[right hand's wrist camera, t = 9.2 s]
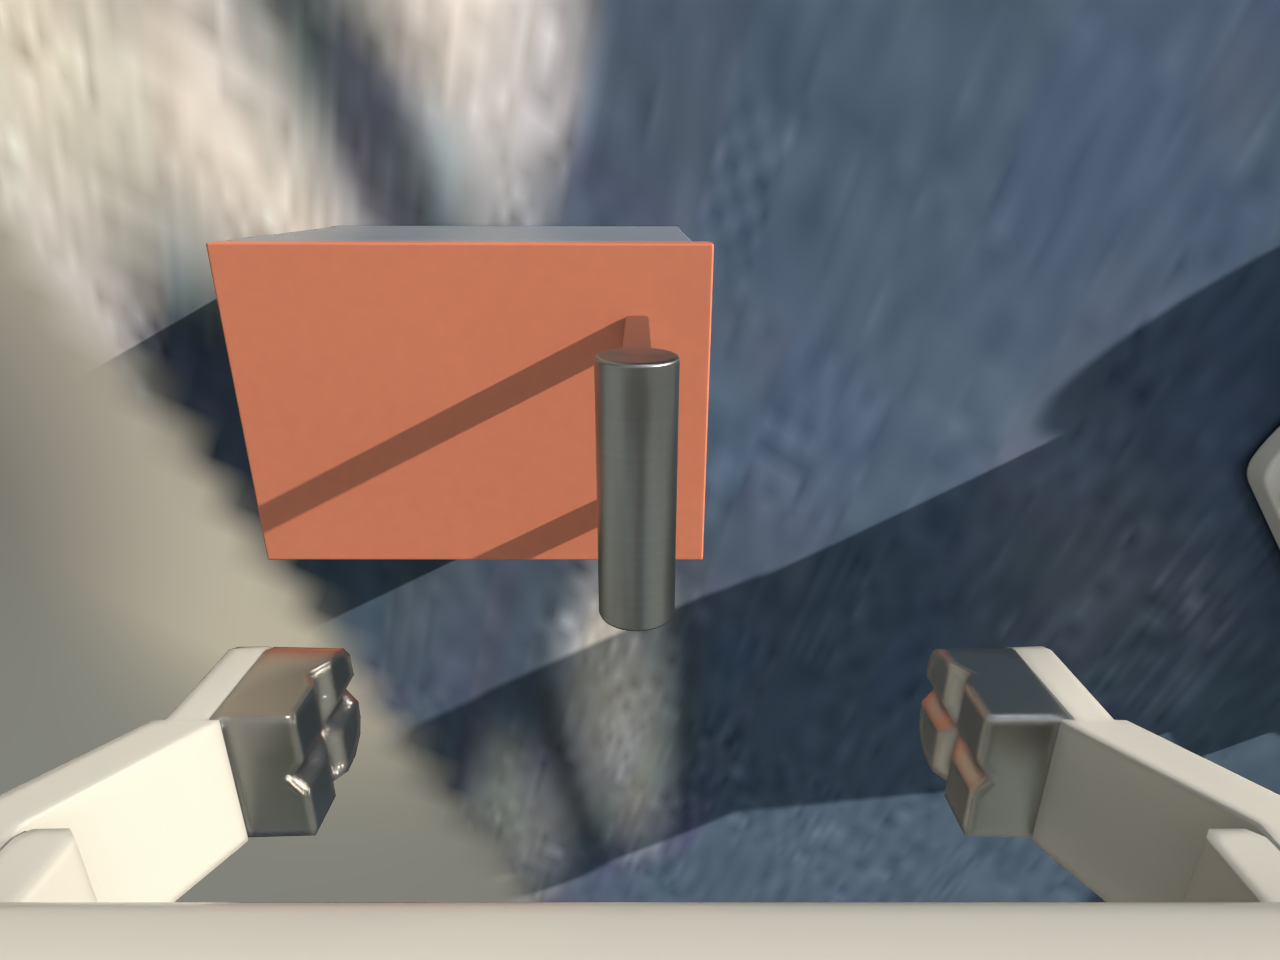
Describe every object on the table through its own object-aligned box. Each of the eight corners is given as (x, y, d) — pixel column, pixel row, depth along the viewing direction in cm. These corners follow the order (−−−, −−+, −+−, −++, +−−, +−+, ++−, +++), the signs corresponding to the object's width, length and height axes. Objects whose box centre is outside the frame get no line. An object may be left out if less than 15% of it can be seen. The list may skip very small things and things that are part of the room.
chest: (677, 226, 31) (693, 240, 23) (673, 457, 35) (685, 547, 26) (339, 225, 31) (222, 240, 23) (370, 457, 35) (280, 547, 26)
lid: (711, 241, 23) (749, 269, 15) (700, 548, 26) (727, 699, 18) (221, 240, 22) (1, 267, 15) (279, 547, 26) (128, 699, 18)
